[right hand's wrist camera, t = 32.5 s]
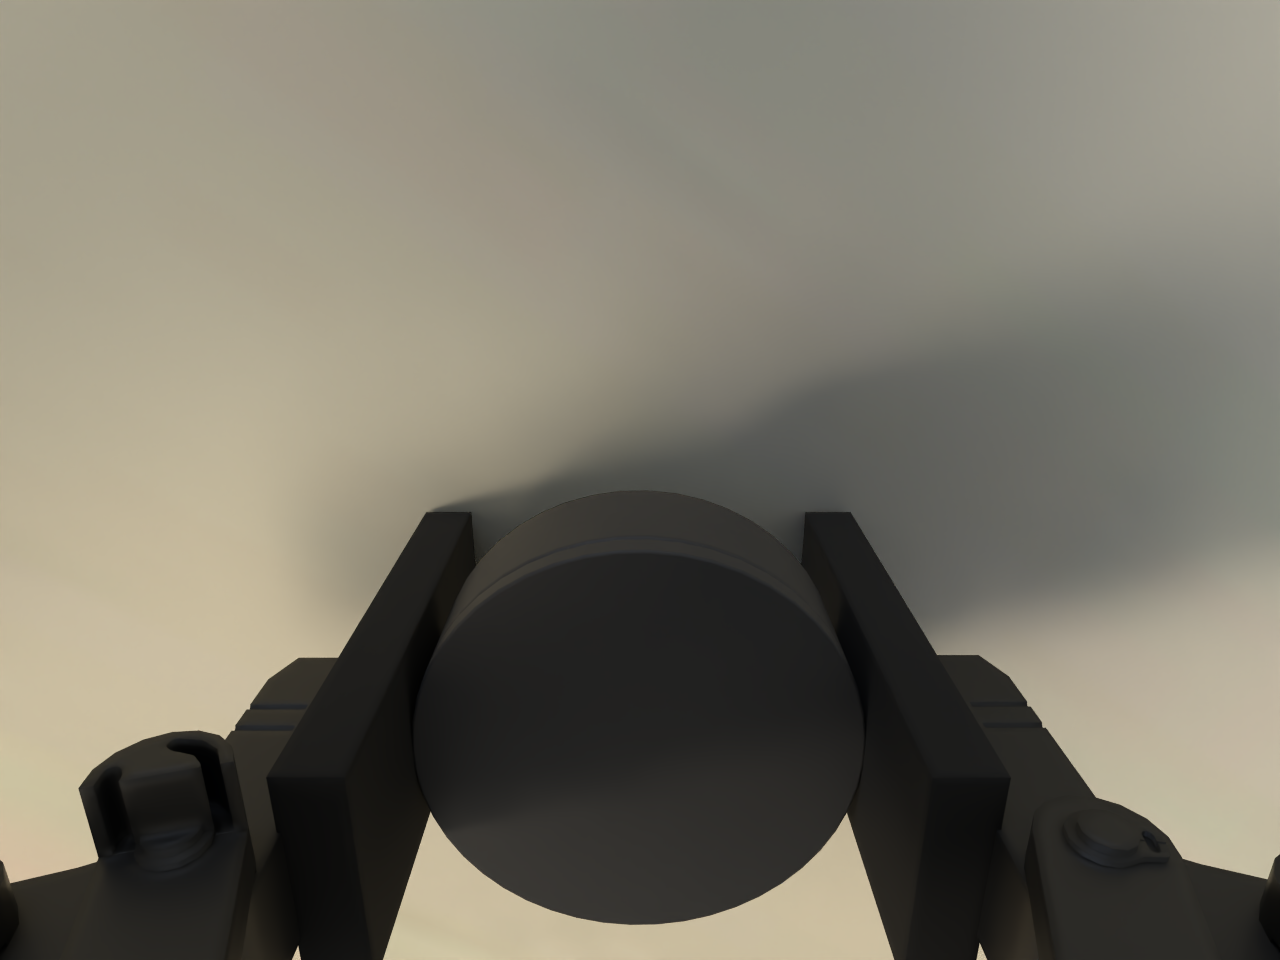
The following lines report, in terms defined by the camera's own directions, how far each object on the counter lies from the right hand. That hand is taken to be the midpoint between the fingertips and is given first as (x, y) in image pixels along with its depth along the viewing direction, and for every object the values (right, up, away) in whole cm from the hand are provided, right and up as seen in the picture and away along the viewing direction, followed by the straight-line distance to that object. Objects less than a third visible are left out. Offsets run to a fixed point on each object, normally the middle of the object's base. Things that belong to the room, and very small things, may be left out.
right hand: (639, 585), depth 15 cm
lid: (0, -2, -4) cm, 4 cm away
